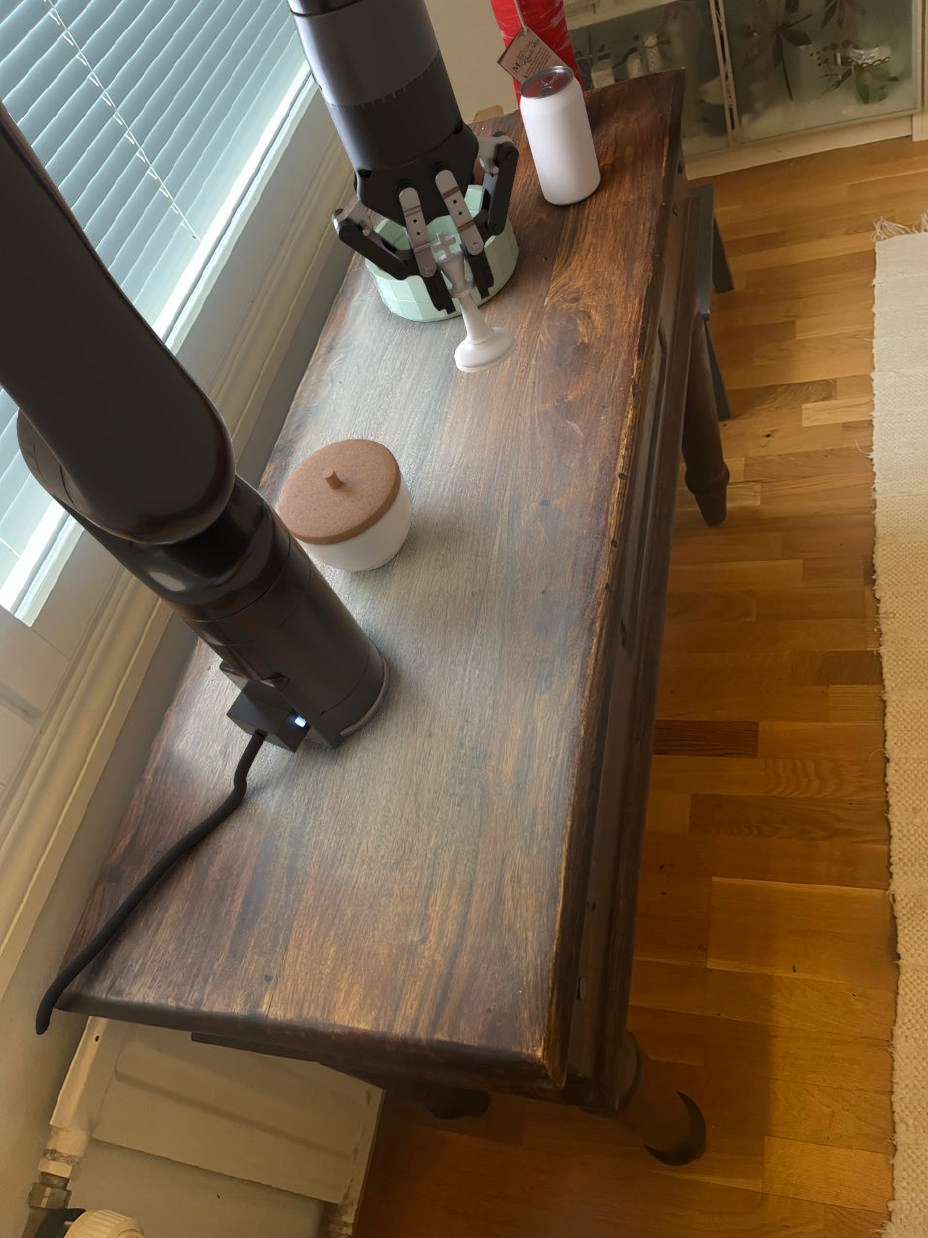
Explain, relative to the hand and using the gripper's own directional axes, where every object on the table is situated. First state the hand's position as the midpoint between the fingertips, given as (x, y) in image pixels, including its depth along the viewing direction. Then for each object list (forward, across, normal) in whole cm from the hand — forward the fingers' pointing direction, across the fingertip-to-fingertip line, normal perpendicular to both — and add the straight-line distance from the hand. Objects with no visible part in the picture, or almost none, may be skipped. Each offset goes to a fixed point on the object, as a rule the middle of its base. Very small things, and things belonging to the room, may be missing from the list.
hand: (466, 299), depth 69 cm
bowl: (+17, +2, +31) cm, 36 cm away
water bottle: (+18, +20, +46) cm, 54 cm away
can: (+18, +18, +36) cm, 44 cm away
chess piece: (+5, 0, -1) cm, 5 cm away
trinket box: (+18, -16, -2) cm, 24 cm away
